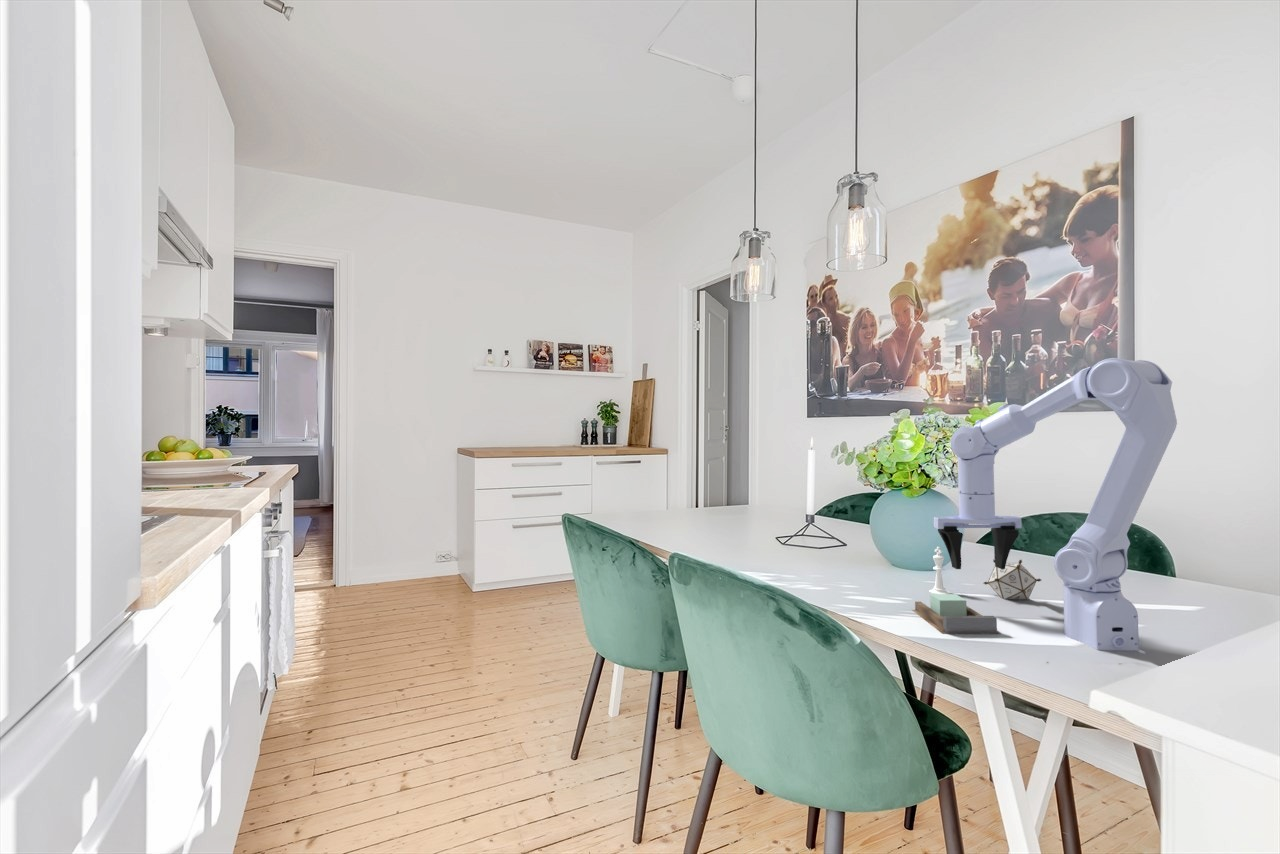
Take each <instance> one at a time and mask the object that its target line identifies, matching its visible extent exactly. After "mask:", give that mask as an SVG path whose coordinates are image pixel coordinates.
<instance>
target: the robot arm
mask: <svg viewBox="0 0 1280 854" xmlns="http://www.w3.org/2000/svg"><path fill="white" fill-rule="evenodd" d="M1172 386H1173V381H1172V380H1171V379H1170V377H1169V376H1168V375H1167V374H1166V373H1165V372H1164V371H1163V369H1162V368H1161V367H1160V366H1159V365H1157V363H1155V362H1152V361H1150V360H1143V359H1139V360H1130V359H1129V360H1128V359H1123V358H1120V357H1110V358H1109V357H1108V358H1105V359H1103V360H1100V361H1098V362H1097V363H1096V364H1094V365H1093V366H1089V367H1086V368H1083V369H1081V370H1079V371H1078V372H1077V373H1075V374H1074V375H1072V376H1071V377H1069V378H1068V379H1066V380H1064V381H1063V382H1061V383H1060V384H1058V385H1055V387H1053V388H1051V389H1050V390H1048V391H1046V392H1044V393H1043V394H1041V395H1040V396H1038V397H1036V398H1035V399H1033V400H1032V401H1029V402H1028V403H1027V404H1025V405H1019V404H1015V403H1014V404H1010V405H1009V404H1002V405H1001V406H999V407H997V410H998V411H997V412H995V413H994V414H992V415H989V416H988V417H986V418H983V419H982V418H979V419H977V420H976V421H975V422H974V423H975V424H974V425H973V426H967V425H966V426H960V427H959V428H958V429H956V431H954V432H953V433H952V436H951V437H950V443H949V444H950V448H951V451H952V453H953V454H954V455H955V456H956V457H957V479H958V480H957V483H958V485H957V486H958V515H952V516H951V515H949V516H947V515H945V516H934V517H933V528H935V529H937V532H938V534H939V535H940V538H941V539H942V541H943V543H944V545H945V547H946V549H947V552H948V555H949V559H950V563H951V567H952V568H953V569H956V570H962V541H963V536H964V534H963V532H960V529H990V531H991V535H992V540H993V548H994V556H993V557H994V559H993V560H995V563H994V567H998V568H1000V569H1005V566H1006V563H1008V562H1007V561H1008V557H1009V555H1010V552H1011V550H1012V547H1013V545H1014V543H1015V542H1016V540H1017V538H1018V537H1019V535H1020V532H1019V530H1018V529H1022V526H1023V525H1022V517H1021V516H1016V515H1013V516H1011V515H996V510H995V509H996V508H995V507H996V506H995V504H996V503H995V502H996V501H995V496H996V495H995V467H994V465H995V457H996V455H997V454H998V453H999V452H1000V450H1001V449H1002V448H1005V447H1006V446H1008V445H1010V444H1013V443H1015V442H1016V441H1018V440H1020V439H1022V438H1025V437H1027V436H1029V435H1030V434H1033V432H1035V431H1034V430H1035V428H1036V424H1037V422H1040V421H1042V420H1044V419H1046V418H1049V417H1051V416H1053V415H1055V414H1057V413H1060V412H1061V411H1063V410H1066V409H1069V408H1070V407H1073V406H1074V405H1077V404H1079V403H1081V402H1083V401H1092V400H1096V401H1097V400H1099V401H1100V402H1102V403H1103V404H1104V405H1105V406H1107V407H1108V408H1110V409H1111V410H1113V411H1114V413H1115V414H1116V416H1117V417H1118V418H1119V420H1120V421H1121V423H1122V424H1123V425H1124V427H1125V429H1124V431H1123V434H1122V437H1121V439H1120V441H1119V444H1118V446H1117V448H1116V451H1115V453H1114V455H1113V457H1112V460H1111V462H1110V465H1109V467H1108V469H1107V471H1106V473H1105V476H1104V477H1103V480H1102V482H1101V485H1100V486H1099V490H1098V491H1097V493H1096V496H1095V498H1094V501H1093V503H1092V504H1091V505H1092V506H1091V507H1090V509H1089V512H1088V515H1087V517H1086V519H1085V522H1084V523H1083V524H1082V525H1081V526H1080V527H1079V528H1078V529H1077V530H1076V531H1075V532H1073V534H1072V535H1071V536H1070V539H1069V541H1068V543H1067V544H1066V545H1065V546H1064V547H1062V548H1060V549H1059V550H1058V551H1057V552H1056V553H1055V556H1054V560H1053V567H1054V570H1055V572H1056V574H1057V576H1058V577H1059V578H1060V579H1061V580H1062V581H1063V582H1062V583H1063V584H1062V586H1063V590H1062V591H1063V593H1062V594H1063V619H1064V620H1063V623H1064V624H1063V625H1064V626H1063V627H1064V628H1063V631H1064V635H1065V636H1066V637H1067V638H1069V639H1071V640H1073V641H1076V642H1080V643H1082V644H1084V645H1086V646H1088V647H1090V648H1092V649H1094V650H1096V651H1137V652H1139V653H1140V654H1143V655H1146V652H1145V651H1144V650H1142V649H1140V645H1139V644H1140V642H1139V641H1140V640H1139V637H1140V635H1139V613H1138V611H1137V608H1136V607H1135V605H1134V604H1133V603H1132V601H1130V600H1128V599H1127V598H1126V597H1125V596H1124V594H1123V592H1122V585H1121V582H1120V578H1121V577H1122V576H1124V575H1125V573H1126V572H1127V570H1128V566H1129V562H1128V550H1129V547H1130V546H1131V542H1130V539H1129V537H1128V532H1129V530H1130V528H1131V527H1132V524H1133V521H1134V520H1135V517H1136V515H1137V513H1138V510H1139V508H1140V507H1141V505H1142V502H1143V500H1144V498H1145V495H1146V493H1147V491H1148V490H1149V487H1150V485H1151V482H1152V481H1153V479H1154V477H1155V474H1156V472H1157V469H1158V467H1159V465H1160V464H1161V462H1162V459H1163V457H1164V454H1165V453H1166V451H1167V449H1168V446H1169V445H1170V442H1171V440H1172V437H1173V435H1174V433H1175V431H1176V430H1177V425H1178V420H1177V417H1176V410H1175V407H1174V403H1173V396H1172V393H1171V390H1172V389H1171V388H1172Z"/></svg>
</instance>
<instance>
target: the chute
mask: <svg viewBox="0 0 1280 854" xmlns="http://www.w3.org/2000/svg"><path fill="white" fill-rule="evenodd" d="M914 606H915V607H914V608H915V609H911V611H912V612H913V613H915V614H916V615H917V616H919V617H921V618H922V620H924V621H925V622H926V623H928V624H929V625H930V626H932V627H933V628H934V629H936V631H938V632H939V633H940V634H943V635H1001V633H1000V632H999V631H998V630H997V629H998V624H997V623H998V620H997V617H995V616H994V615H982V614H981V613H979V612H978V611H976V610H974V609H972V608H971V607H970V606H968V605H966V608H967V616H943V617H942V616H940V615H939V614H938V613H936V612H935V611H933V610H932V609H931V608H930V607H929V606H928V605H926V603H923V602H922V601H915V602H914Z"/></svg>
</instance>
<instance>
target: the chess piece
mask: <svg viewBox="0 0 1280 854" xmlns="http://www.w3.org/2000/svg"><path fill="white" fill-rule="evenodd" d="M933 552H934V553H935V552H936V554H934V555H933V557H932V559H933V561H934V563H935V566H933V568H932V569H933V570H934V571H936V572H935V580H934V581H935V582H934V587H932V589H930V590H928V591H929V592H930V593H931V594H951V592H950V591H949V590H946V588H945V585H944V580H943V579H944V578H943V573H942V571H945V567H943V562H944V560H945V556H943V555H941V554H943V550H941V547H940V546H936V548H934V551H933Z"/></svg>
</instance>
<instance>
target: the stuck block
mask: <svg viewBox="0 0 1280 854" xmlns="http://www.w3.org/2000/svg"><path fill="white" fill-rule="evenodd" d="M929 596H930V597H929V601H930V605H929V606H930V607H929V608H931V609H932V610H933V611H935V612H936V613H938V614H939V615H940V616H942V617H943V616H967V608H966V606H967V600H966V599H965V598H963V597H961V596H960V595H959V594H956V593H949V594H935V593H930V594H929Z"/></svg>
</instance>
